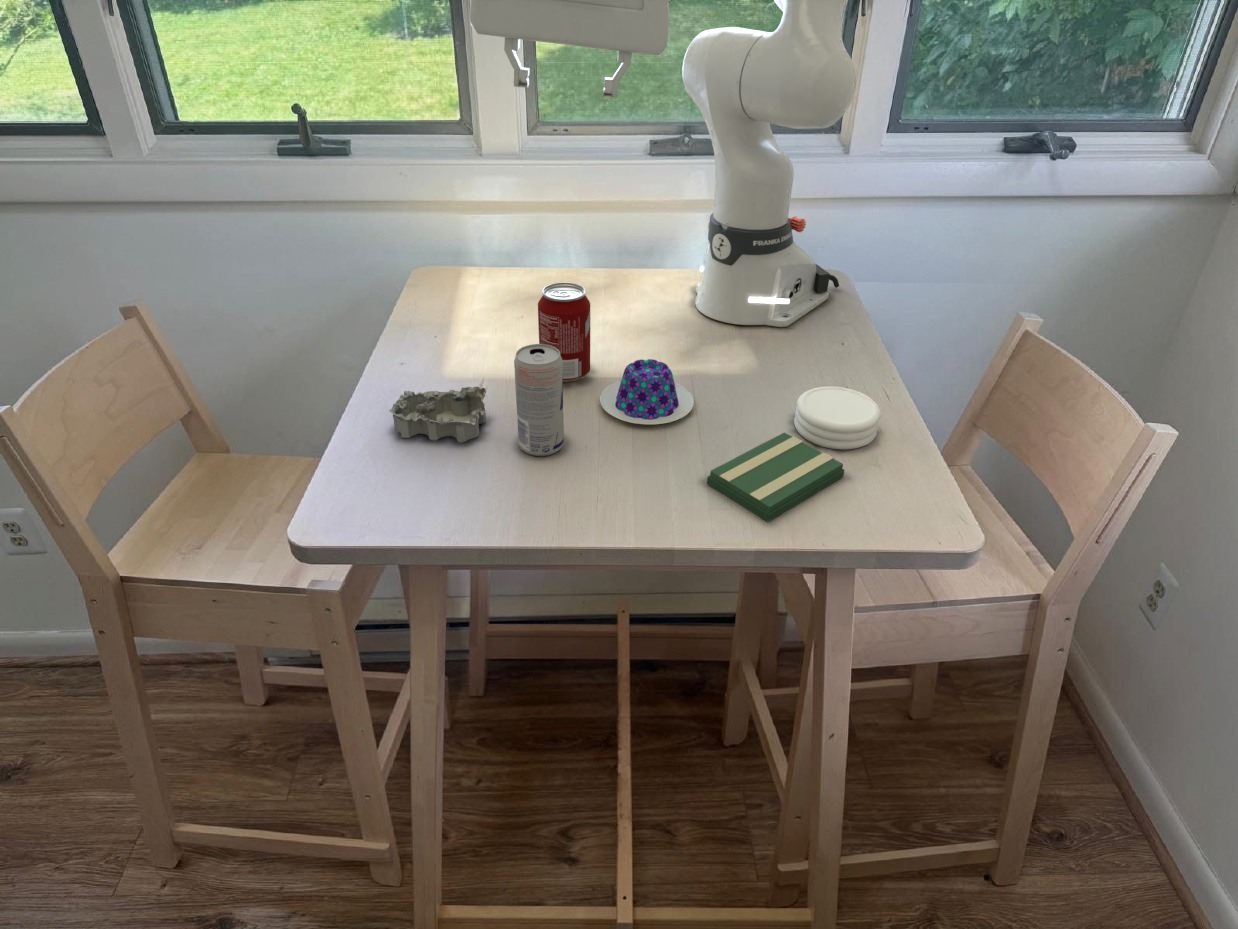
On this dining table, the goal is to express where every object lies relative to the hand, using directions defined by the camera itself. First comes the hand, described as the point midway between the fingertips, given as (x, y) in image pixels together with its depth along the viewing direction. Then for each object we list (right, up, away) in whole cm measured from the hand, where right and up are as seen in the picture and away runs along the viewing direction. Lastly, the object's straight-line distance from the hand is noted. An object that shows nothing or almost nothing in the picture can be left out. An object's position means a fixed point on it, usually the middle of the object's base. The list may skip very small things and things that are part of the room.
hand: (565, 91), depth 92 cm
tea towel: (+23, -41, +6) cm, 48 cm away
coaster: (+32, -35, +15) cm, 50 cm away
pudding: (+9, -32, +19) cm, 38 cm away
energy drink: (-4, -37, +11) cm, 39 cm away
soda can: (-2, -28, +25) cm, 37 cm away
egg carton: (-16, -35, +14) cm, 41 cm away
